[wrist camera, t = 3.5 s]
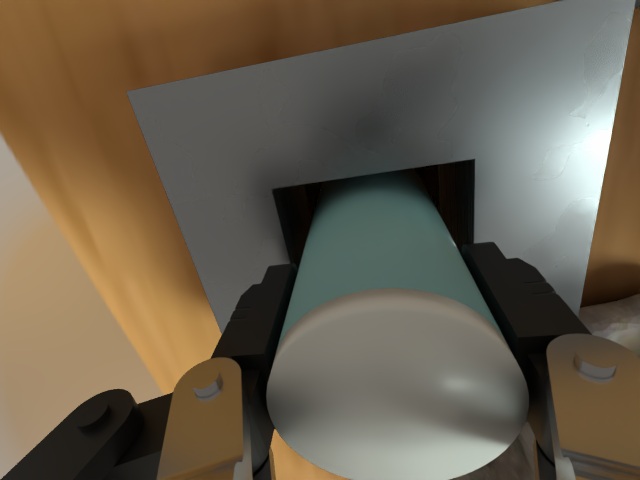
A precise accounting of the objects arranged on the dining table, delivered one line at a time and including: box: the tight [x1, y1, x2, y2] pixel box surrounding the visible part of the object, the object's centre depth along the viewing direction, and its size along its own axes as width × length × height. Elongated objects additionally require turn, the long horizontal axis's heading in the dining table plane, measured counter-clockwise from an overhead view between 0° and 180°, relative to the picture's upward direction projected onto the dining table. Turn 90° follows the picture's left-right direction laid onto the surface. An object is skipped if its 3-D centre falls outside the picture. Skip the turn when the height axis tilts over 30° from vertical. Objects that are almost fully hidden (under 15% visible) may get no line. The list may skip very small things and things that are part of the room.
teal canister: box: [266, 168, 529, 480], centre depth 11 cm, size 5×5×10 cm
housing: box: [126, 0, 636, 334], centre depth 13 cm, size 12×12×5 cm
